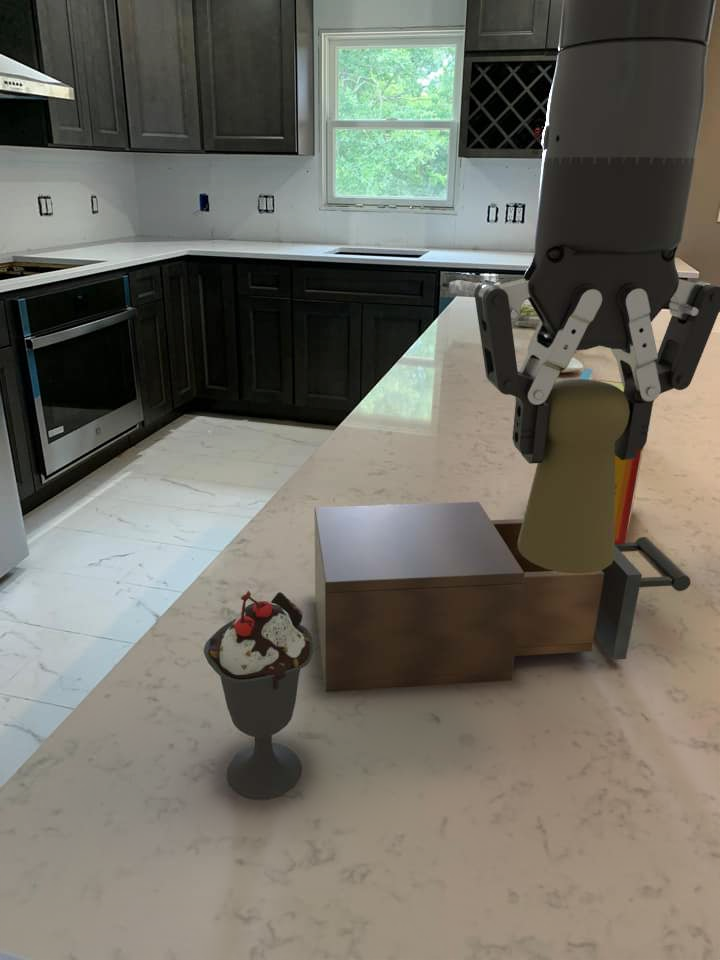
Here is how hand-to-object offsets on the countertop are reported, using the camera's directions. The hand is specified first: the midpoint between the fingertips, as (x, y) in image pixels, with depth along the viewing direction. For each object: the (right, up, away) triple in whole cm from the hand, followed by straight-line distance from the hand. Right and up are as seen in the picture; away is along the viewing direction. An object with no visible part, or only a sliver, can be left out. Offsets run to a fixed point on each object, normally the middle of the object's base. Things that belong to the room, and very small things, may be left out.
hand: (577, 456), depth 44 cm
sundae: (-20, -21, +4) cm, 29 cm away
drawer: (+4, -14, +19) cm, 24 cm away
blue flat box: (+24, +10, +80) cm, 84 cm away
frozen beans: (+36, +40, +152) cm, 161 cm away
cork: (0, -6, +3) cm, 7 cm away
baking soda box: (+14, -7, +40) cm, 43 cm away
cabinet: (-9, -15, +18) cm, 26 cm away
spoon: (+31, +24, +114) cm, 121 cm away
